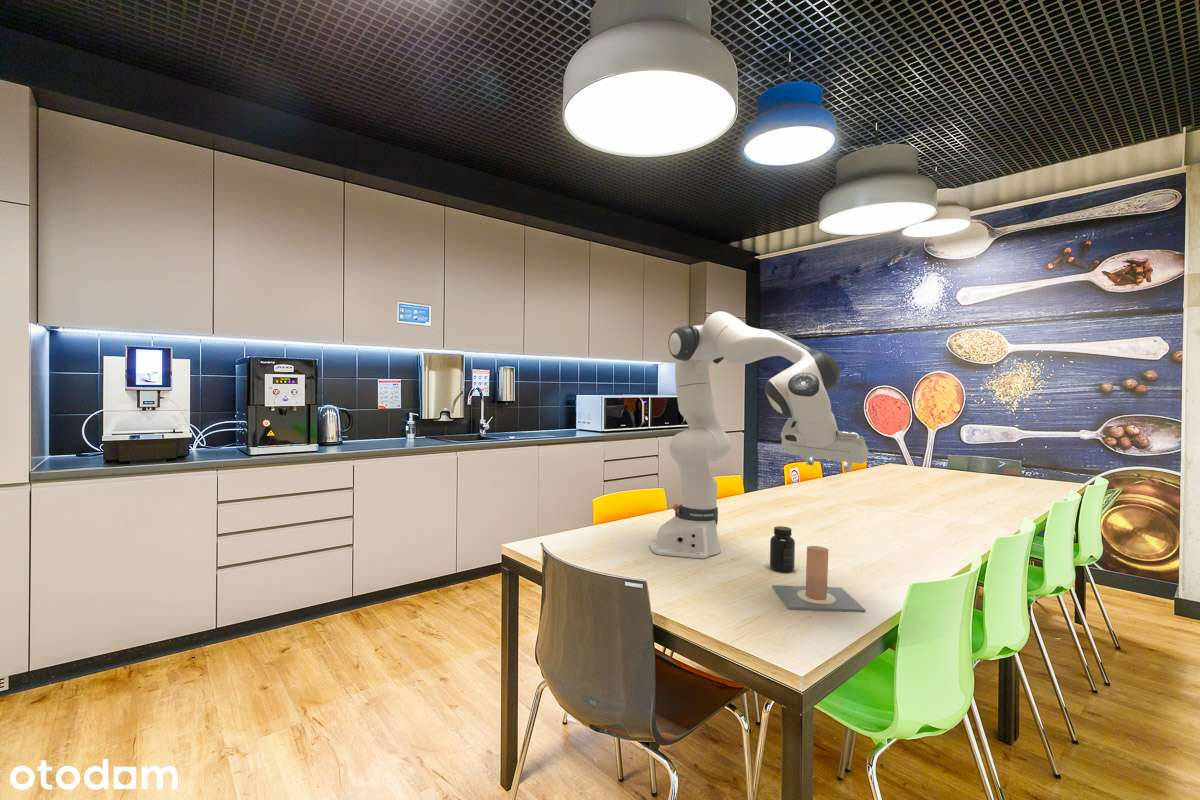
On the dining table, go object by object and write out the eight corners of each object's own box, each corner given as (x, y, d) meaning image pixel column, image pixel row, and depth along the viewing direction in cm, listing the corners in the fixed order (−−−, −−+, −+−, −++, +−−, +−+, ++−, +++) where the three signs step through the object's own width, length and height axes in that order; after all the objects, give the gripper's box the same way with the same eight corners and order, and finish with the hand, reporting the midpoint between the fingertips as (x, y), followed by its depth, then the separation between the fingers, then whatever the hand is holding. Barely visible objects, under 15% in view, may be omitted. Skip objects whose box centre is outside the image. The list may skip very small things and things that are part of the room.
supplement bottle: (794, 566, 161) (795, 526, 161) (794, 574, 155) (795, 532, 154) (769, 563, 163) (771, 524, 163) (768, 571, 157) (770, 529, 157)
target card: (788, 609, 130) (788, 606, 130) (772, 587, 144) (772, 584, 144) (865, 612, 130) (865, 609, 130) (841, 589, 144) (841, 587, 144)
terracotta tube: (806, 598, 135) (807, 550, 135) (804, 591, 140) (806, 545, 140) (827, 601, 134) (829, 552, 134) (825, 594, 139) (827, 547, 138)
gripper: (866, 424, 129) (875, 462, 137) (782, 417, 143) (795, 452, 150) (859, 444, 126) (869, 482, 133) (774, 434, 139) (787, 469, 147)
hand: (829, 466), depth 142 cm, fingers open, 8 cm apart
